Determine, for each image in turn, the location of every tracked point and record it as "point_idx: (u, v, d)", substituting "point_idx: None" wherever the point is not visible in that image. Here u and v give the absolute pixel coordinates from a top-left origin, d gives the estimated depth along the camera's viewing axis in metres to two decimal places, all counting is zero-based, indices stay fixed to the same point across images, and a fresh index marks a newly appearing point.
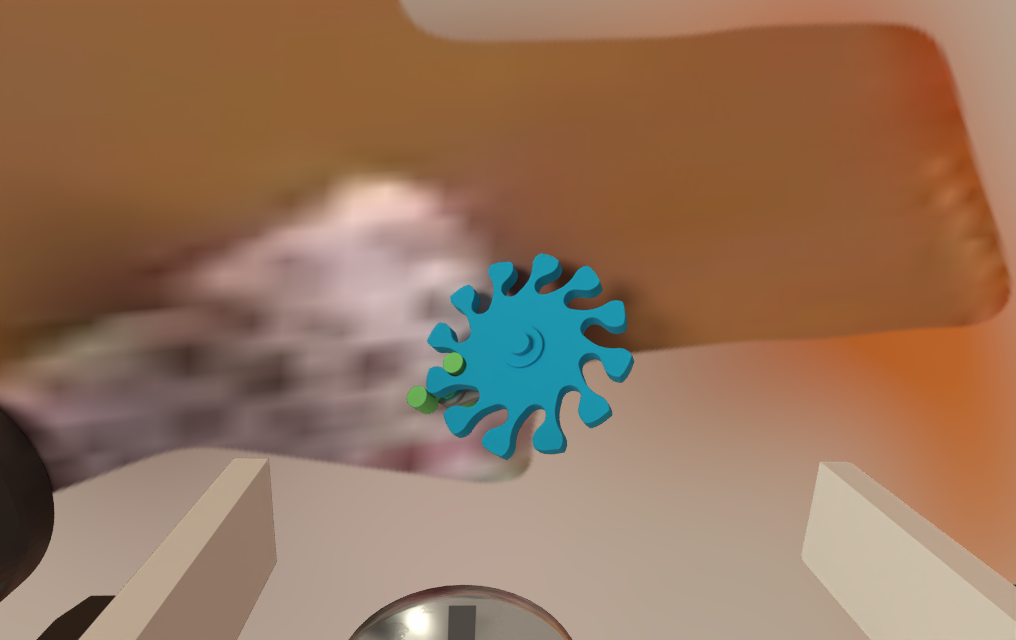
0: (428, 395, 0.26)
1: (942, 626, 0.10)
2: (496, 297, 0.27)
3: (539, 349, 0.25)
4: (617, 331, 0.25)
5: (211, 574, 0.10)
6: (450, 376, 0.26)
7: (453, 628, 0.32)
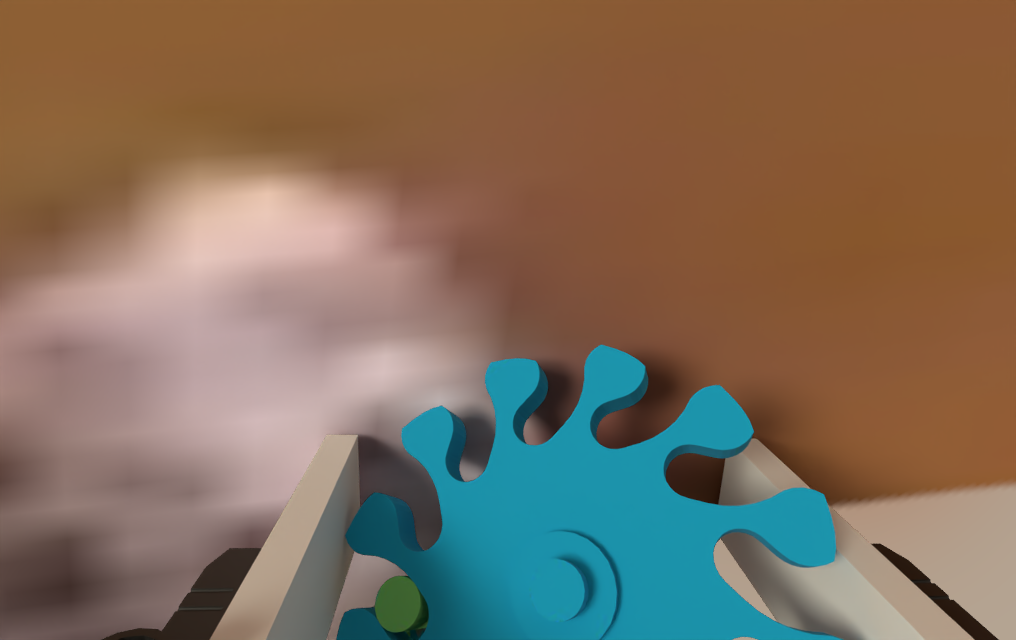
0: None
1: (809, 580, 0.11)
2: (501, 444, 0.12)
3: (610, 609, 0.10)
4: (807, 566, 0.10)
5: (329, 532, 0.11)
6: None
7: None
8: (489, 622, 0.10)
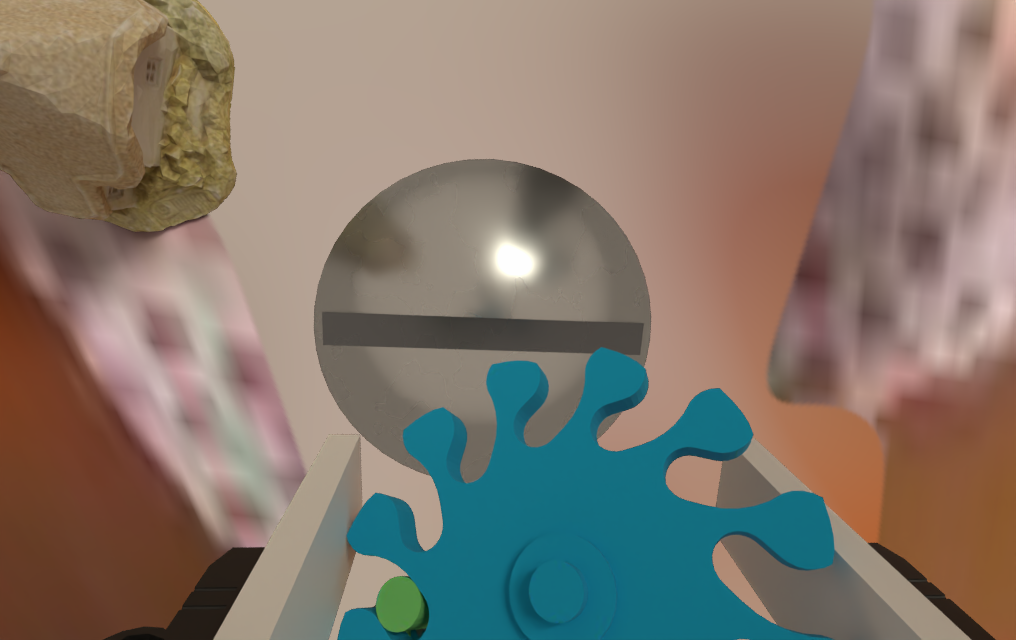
0: None
1: (806, 579, 0.11)
2: (502, 445, 0.12)
3: (609, 610, 0.10)
4: (805, 569, 0.10)
5: (331, 531, 0.11)
6: None
7: (610, 328, 0.26)
8: (489, 623, 0.11)
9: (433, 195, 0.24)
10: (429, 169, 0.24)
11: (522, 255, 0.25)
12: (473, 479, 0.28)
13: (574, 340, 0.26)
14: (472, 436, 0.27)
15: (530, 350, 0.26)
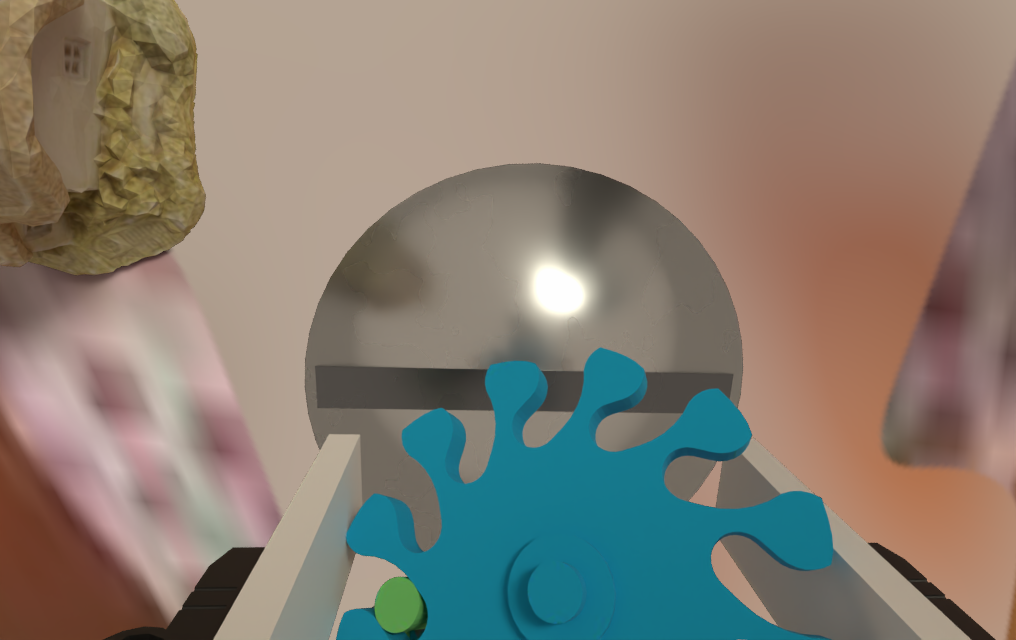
0: None
1: (806, 579, 0.11)
2: (501, 445, 0.12)
3: (608, 611, 0.10)
4: (804, 569, 0.10)
5: (331, 531, 0.11)
6: None
7: (690, 381, 0.20)
8: (487, 623, 0.11)
9: (460, 211, 0.18)
10: (455, 178, 0.18)
11: (577, 289, 0.19)
12: None
13: (643, 397, 0.20)
14: None
15: None
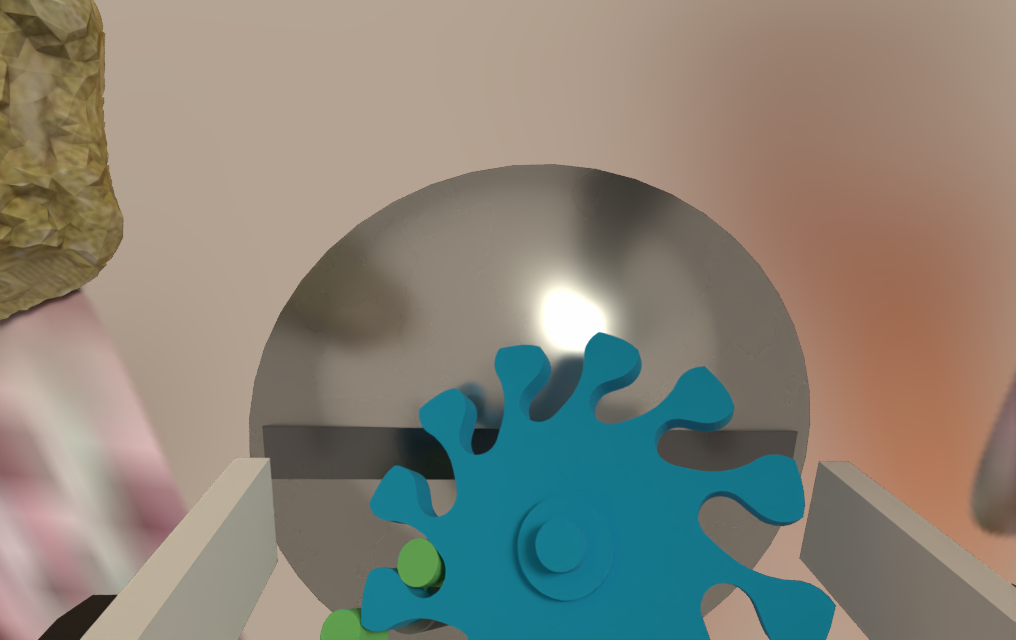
0: (366, 631, 0.12)
1: (940, 626, 0.10)
2: (510, 421, 0.13)
3: (606, 561, 0.11)
4: (780, 524, 0.11)
5: (212, 573, 0.10)
6: (411, 596, 0.12)
7: (743, 441, 0.16)
8: (499, 576, 0.12)
9: (450, 228, 0.14)
10: (443, 183, 0.14)
11: (601, 326, 0.15)
12: None
13: (683, 461, 0.16)
14: None
15: None
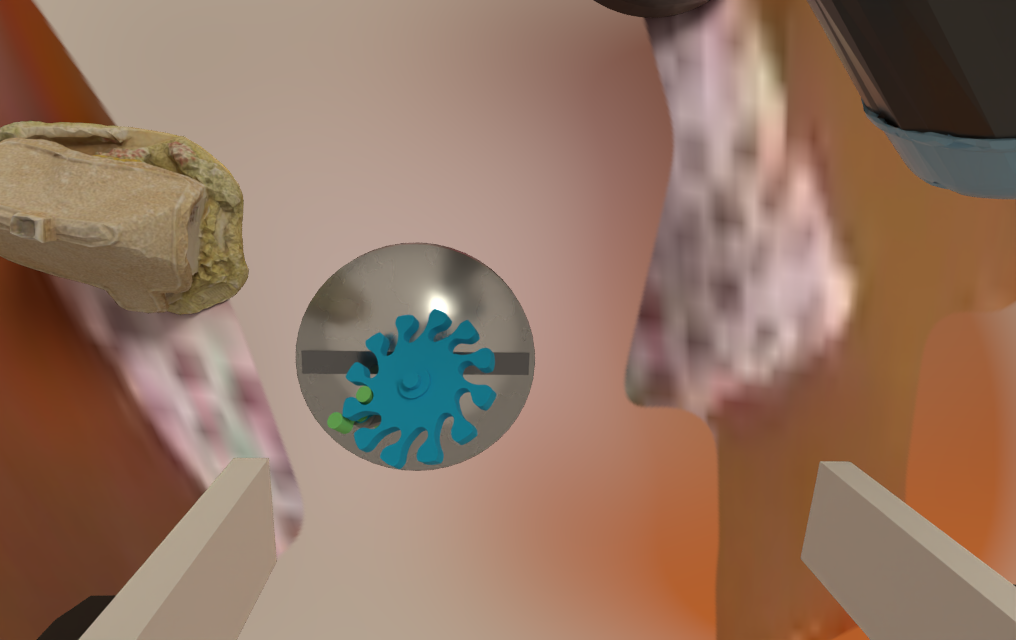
0: (344, 419, 0.34)
1: (942, 626, 0.10)
2: (399, 343, 0.35)
3: (426, 384, 0.32)
4: (486, 371, 0.33)
5: (211, 574, 0.10)
6: (360, 404, 0.33)
7: (506, 356, 0.37)
8: (392, 394, 0.33)
9: (377, 269, 0.35)
10: (374, 252, 0.35)
11: (441, 308, 0.36)
12: (413, 467, 0.39)
13: None
14: None
15: None
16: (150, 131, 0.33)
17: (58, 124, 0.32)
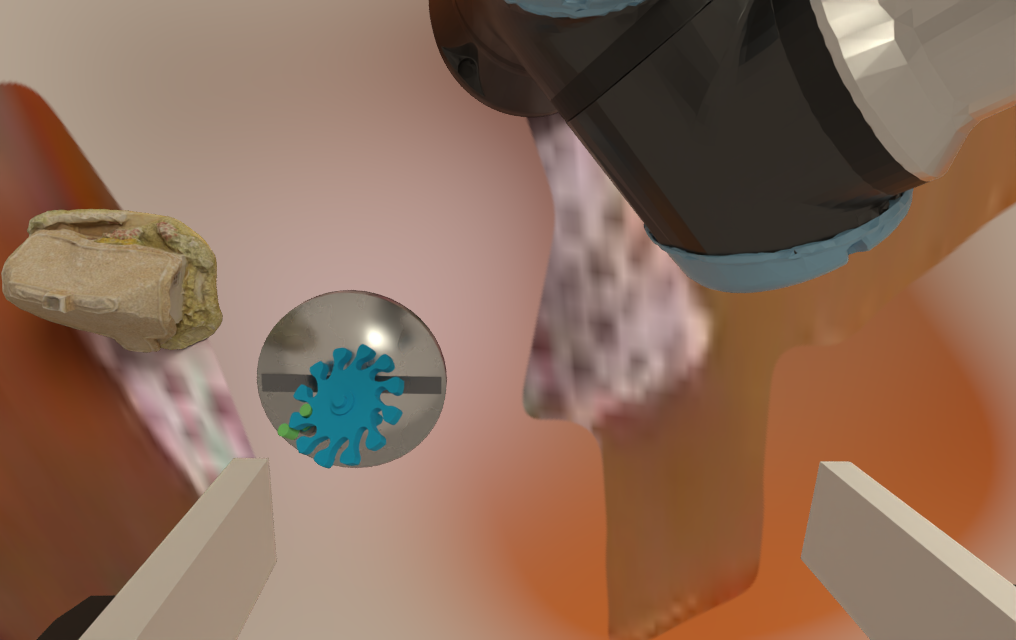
0: (290, 429, 0.44)
1: (942, 626, 0.10)
2: (334, 370, 0.45)
3: (351, 404, 0.43)
4: (396, 394, 0.43)
5: (211, 574, 0.10)
6: (302, 418, 0.44)
7: (422, 379, 0.47)
8: (326, 411, 0.43)
9: (318, 312, 0.45)
10: (315, 299, 0.45)
11: (369, 341, 0.46)
12: None
13: None
14: None
15: None
16: (143, 214, 0.43)
17: (75, 211, 0.42)
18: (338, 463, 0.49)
